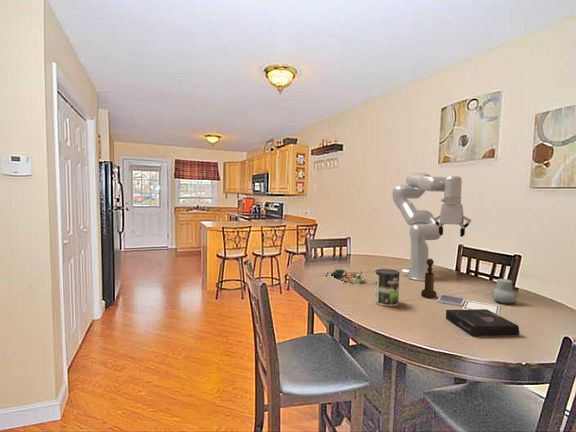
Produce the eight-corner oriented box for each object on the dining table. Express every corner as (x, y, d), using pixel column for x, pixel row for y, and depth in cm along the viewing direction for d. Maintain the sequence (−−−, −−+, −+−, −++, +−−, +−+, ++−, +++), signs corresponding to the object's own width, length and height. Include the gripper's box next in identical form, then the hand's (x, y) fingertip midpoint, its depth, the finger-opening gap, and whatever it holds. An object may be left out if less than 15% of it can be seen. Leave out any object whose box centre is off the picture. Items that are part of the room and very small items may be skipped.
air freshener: (517, 306, 147) (518, 284, 146) (495, 304, 150) (496, 282, 149) (510, 299, 157) (511, 278, 156) (490, 297, 160) (491, 276, 159)
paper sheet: (462, 309, 142) (462, 308, 142) (466, 300, 154) (466, 299, 154) (498, 316, 134) (498, 315, 134) (500, 306, 147) (500, 305, 147)
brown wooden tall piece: (435, 295, 162) (437, 258, 161) (437, 299, 156) (438, 260, 155) (420, 293, 164) (422, 257, 163) (421, 297, 158) (423, 259, 157)
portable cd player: (519, 336, 116) (520, 325, 116) (472, 337, 115) (472, 326, 115) (487, 319, 133) (488, 309, 132) (445, 319, 131) (446, 309, 131)
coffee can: (403, 304, 148) (404, 272, 147) (386, 307, 143) (387, 274, 142) (386, 297, 157) (387, 267, 156) (369, 300, 152) (370, 269, 151)
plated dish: (384, 287, 177) (384, 273, 177) (332, 289, 173) (332, 275, 173) (360, 272, 212) (360, 261, 211) (316, 274, 208) (316, 262, 207)
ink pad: (437, 302, 151) (437, 299, 151) (441, 296, 160) (441, 294, 160) (462, 306, 146) (462, 303, 146) (465, 300, 154) (465, 298, 154)
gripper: (431, 201, 171) (430, 235, 171) (469, 201, 159) (468, 237, 160) (436, 201, 176) (436, 234, 177) (473, 201, 165) (472, 236, 165)
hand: (451, 235), depth 168 cm, fingers open, 9 cm apart
